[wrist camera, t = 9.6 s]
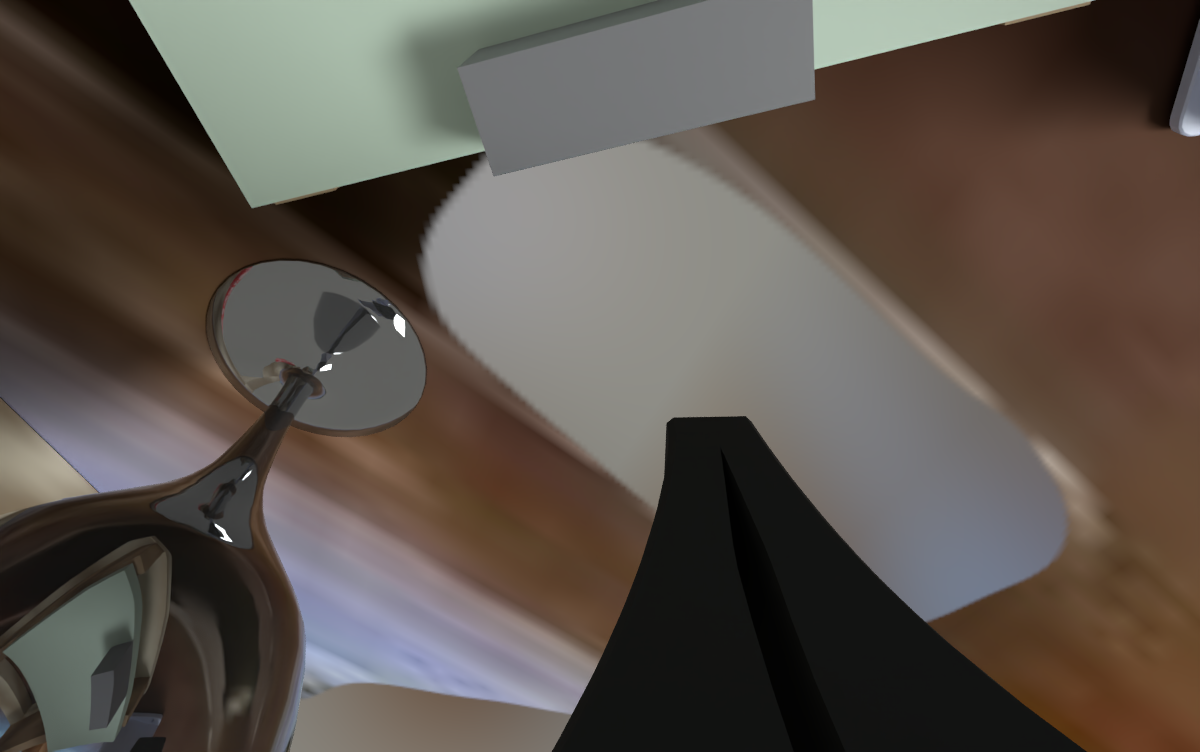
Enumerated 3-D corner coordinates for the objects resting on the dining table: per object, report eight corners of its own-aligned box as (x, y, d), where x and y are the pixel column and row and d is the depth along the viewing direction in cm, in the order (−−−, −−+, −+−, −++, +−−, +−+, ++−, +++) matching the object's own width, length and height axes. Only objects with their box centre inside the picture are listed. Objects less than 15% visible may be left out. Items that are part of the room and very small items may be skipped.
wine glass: (271, 191, 17) (-577, 832, 5) (487, 362, 20) (308, 992, 8) (151, 351, 20) (-535, 974, 8) (354, 475, 24) (86, 1046, 11)
